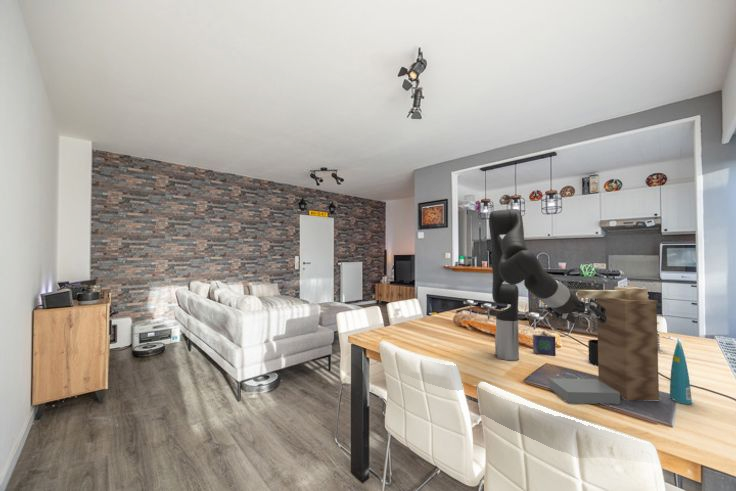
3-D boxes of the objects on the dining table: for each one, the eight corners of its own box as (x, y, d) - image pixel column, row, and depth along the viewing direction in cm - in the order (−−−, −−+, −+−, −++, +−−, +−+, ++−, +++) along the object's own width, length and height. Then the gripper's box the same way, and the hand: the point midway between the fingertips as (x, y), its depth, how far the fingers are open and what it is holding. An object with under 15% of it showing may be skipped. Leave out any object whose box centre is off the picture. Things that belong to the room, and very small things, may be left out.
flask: (533, 354, 138) (533, 331, 138) (532, 352, 141) (532, 329, 141) (556, 356, 135) (556, 332, 135) (554, 354, 138) (554, 331, 138)
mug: (629, 368, 121) (628, 345, 121) (600, 368, 121) (600, 346, 121) (609, 359, 130) (609, 339, 131) (583, 360, 130) (582, 339, 130)
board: (568, 403, 92) (568, 392, 92) (549, 388, 102) (549, 378, 102) (620, 404, 92) (620, 392, 92) (596, 389, 102) (596, 379, 102)
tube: (668, 394, 98) (666, 336, 99) (689, 398, 95) (687, 339, 96) (671, 402, 93) (669, 341, 93) (694, 408, 90) (692, 344, 90)
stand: (626, 401, 94) (624, 300, 94) (597, 383, 106) (595, 295, 107) (660, 401, 93) (658, 300, 94) (627, 384, 106) (625, 295, 107)
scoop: (586, 299, 98) (586, 288, 98) (574, 296, 104) (574, 286, 104) (647, 299, 97) (647, 288, 98) (632, 296, 103) (631, 286, 104)
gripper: (531, 308, 91) (564, 331, 96) (580, 305, 79) (615, 332, 83) (535, 287, 94) (566, 310, 99) (582, 281, 82) (616, 308, 87)
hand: (588, 320), depth 91 cm, fingers open, 8 cm apart
